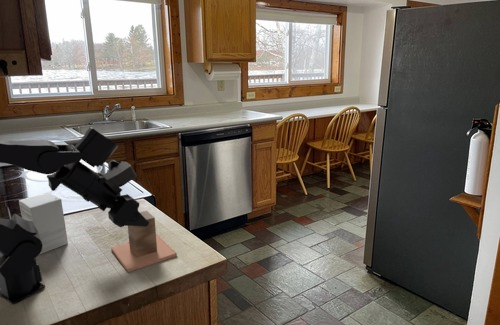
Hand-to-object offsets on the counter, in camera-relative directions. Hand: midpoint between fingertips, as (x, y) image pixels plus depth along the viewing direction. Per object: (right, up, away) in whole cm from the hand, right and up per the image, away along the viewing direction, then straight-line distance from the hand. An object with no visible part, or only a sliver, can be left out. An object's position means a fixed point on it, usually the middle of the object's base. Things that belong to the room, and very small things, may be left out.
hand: (140, 217), depth 88 cm
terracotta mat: (0, -9, +3) cm, 9 cm away
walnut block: (0, -8, +2) cm, 9 cm away
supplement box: (-26, -8, +6) cm, 28 cm away
